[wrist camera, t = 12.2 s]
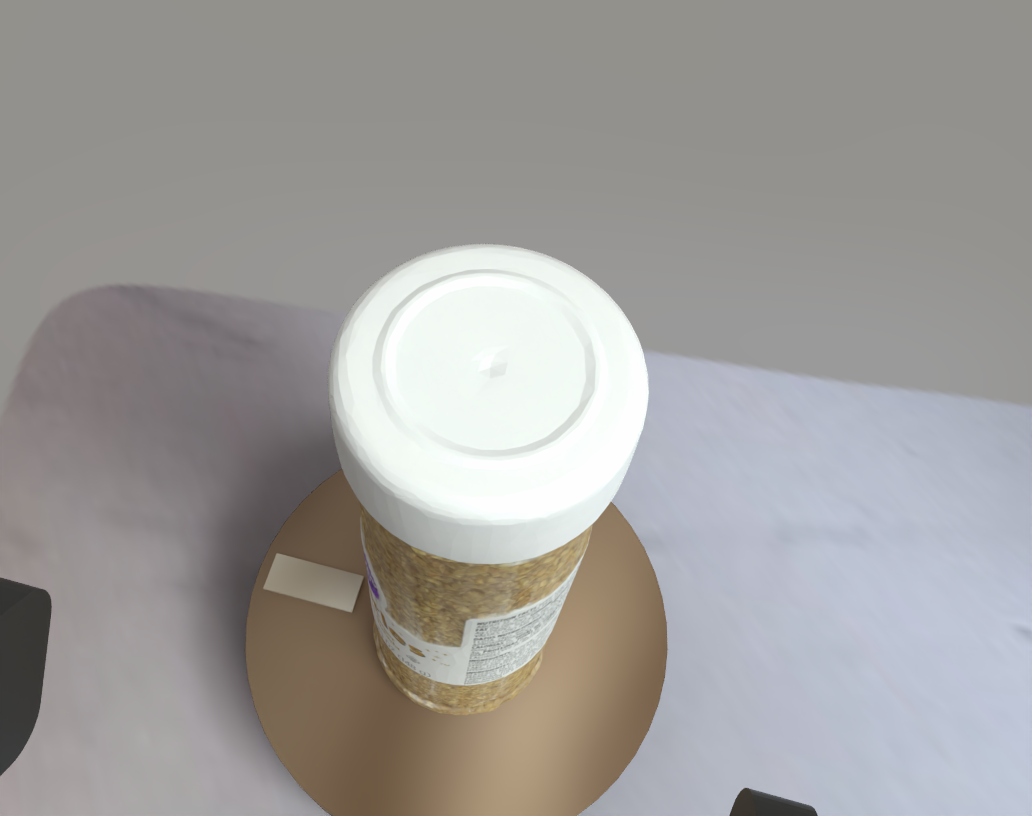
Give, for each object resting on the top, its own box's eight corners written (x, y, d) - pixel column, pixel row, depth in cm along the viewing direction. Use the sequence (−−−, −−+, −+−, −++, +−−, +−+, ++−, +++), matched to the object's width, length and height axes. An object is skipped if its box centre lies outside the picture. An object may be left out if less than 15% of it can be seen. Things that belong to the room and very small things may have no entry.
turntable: (682, 509, 29) (695, 488, 27) (614, 909, 23) (627, 909, 22) (332, 418, 29) (327, 392, 28) (188, 791, 24) (174, 783, 22)
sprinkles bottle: (346, 593, 25) (271, 294, 13) (499, 521, 26) (554, 191, 15) (421, 756, 23) (411, 575, 12) (582, 669, 25) (720, 429, 13)
